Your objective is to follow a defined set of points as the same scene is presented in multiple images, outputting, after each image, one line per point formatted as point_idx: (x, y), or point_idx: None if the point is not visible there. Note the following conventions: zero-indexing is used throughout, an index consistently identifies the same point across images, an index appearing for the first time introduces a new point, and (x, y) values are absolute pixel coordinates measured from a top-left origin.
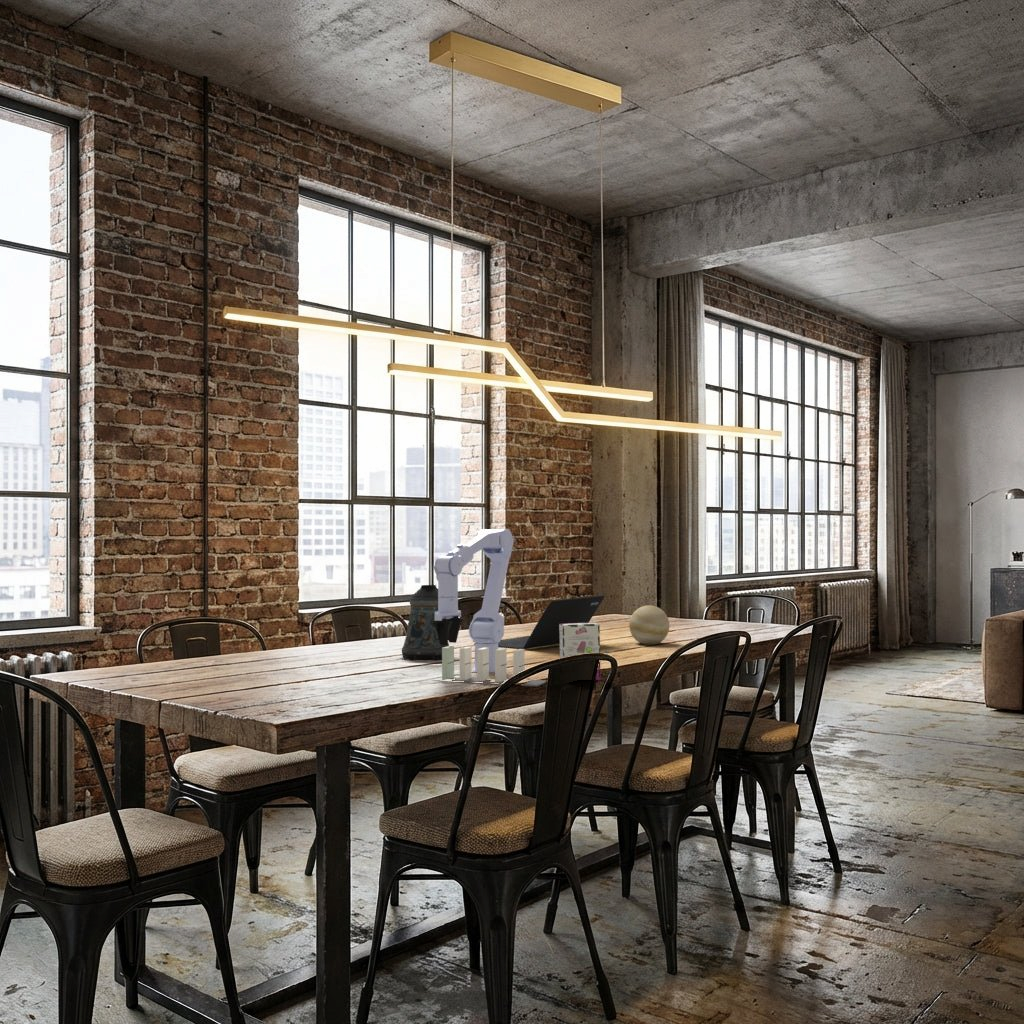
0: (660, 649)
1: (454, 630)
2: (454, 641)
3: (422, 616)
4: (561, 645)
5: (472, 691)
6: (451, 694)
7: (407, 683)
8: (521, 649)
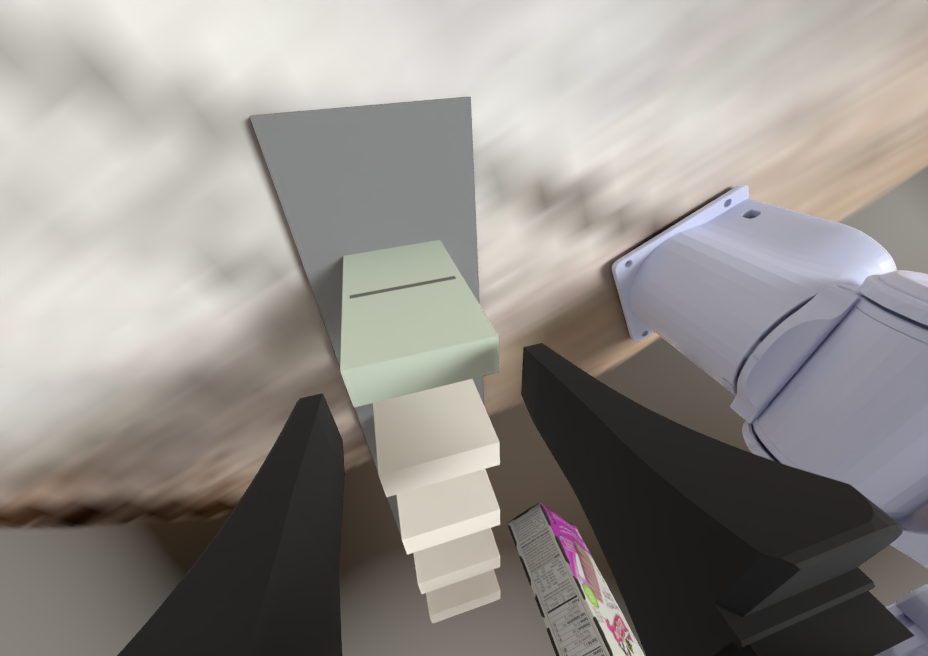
0: None
1: (586, 482)
2: (525, 395)
3: None
4: (565, 623)
5: (172, 505)
6: (23, 509)
7: (46, 107)
8: (482, 602)
